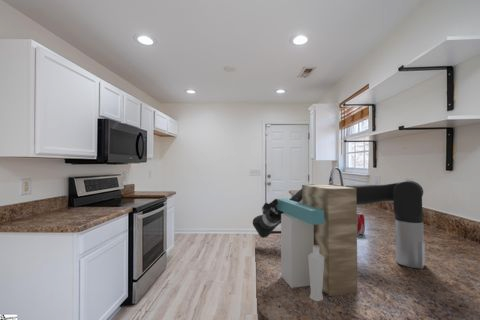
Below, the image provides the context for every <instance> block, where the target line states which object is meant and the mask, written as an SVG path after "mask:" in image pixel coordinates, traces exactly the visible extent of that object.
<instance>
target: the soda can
mask: <svg viewBox="0 0 480 320" xmlns="http://www.w3.org/2000/svg"><path fill="white" fill-rule="evenodd" d="M365 222H366V220H365V214H364V212H360V211H357V234H362V235H364V234H365V232H366V231H365V226H366V225H365V224H366V223H365Z"/></svg>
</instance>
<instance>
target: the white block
mask: <svg viewBox="0 0 480 320" xmlns="http://www.w3.org/2000/svg"><path fill="white" fill-rule="evenodd" d="M280 224H281V225H280V229H281V230H280V232H281V233H280V236H281V240H280V245H281V246H280V247H281V249H280V255H281V256H280V258H281V259H280V260H281V261H280V264H281V265H280V268H281V269H280V270H281V271H280V277H281V278H282V279H283V281H284V282H286V283H287V284H288V286H289V287H290V288H291V289H293V288H300V287H308V286H310V274H309V261H308V255H309V254H310V253H312V252H313V247H312V246H313V245H314V225H311V224H309V223H307V222H304V221H302V220H300V219H298V218H295V217H293V216H291V215H289V214H286V213H285V214H281V223H280Z"/></svg>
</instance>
